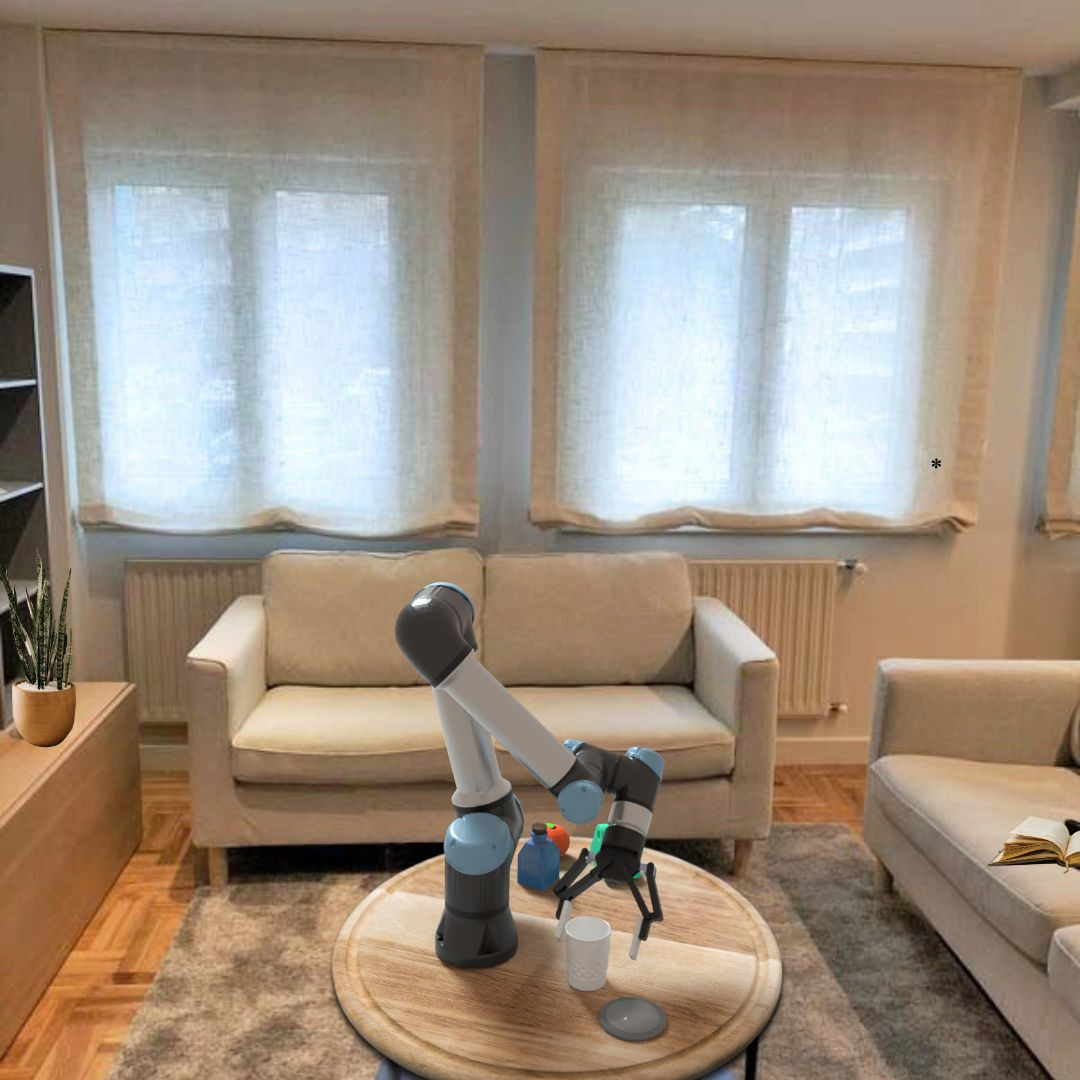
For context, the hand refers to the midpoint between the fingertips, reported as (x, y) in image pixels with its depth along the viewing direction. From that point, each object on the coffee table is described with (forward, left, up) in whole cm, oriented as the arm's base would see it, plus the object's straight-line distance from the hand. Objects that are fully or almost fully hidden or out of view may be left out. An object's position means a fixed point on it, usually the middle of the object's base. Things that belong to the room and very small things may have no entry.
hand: (594, 948), depth 196 cm
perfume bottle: (-23, +28, -6) cm, 37 cm away
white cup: (-1, 0, -6) cm, 6 cm away
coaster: (+10, -7, -6) cm, 14 cm away
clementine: (-25, +39, -6) cm, 46 cm away
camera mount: (-11, +39, -7) cm, 41 cm away
